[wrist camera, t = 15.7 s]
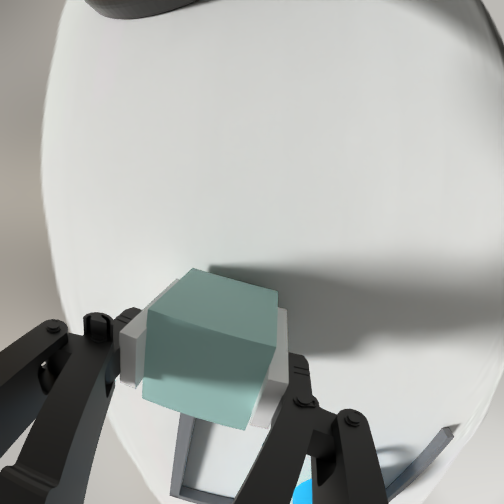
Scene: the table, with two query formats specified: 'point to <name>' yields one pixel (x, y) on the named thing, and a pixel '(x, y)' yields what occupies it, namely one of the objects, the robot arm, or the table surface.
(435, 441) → the tray frame
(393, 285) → the table surface
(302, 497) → the mug
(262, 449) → the robot arm
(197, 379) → the block
